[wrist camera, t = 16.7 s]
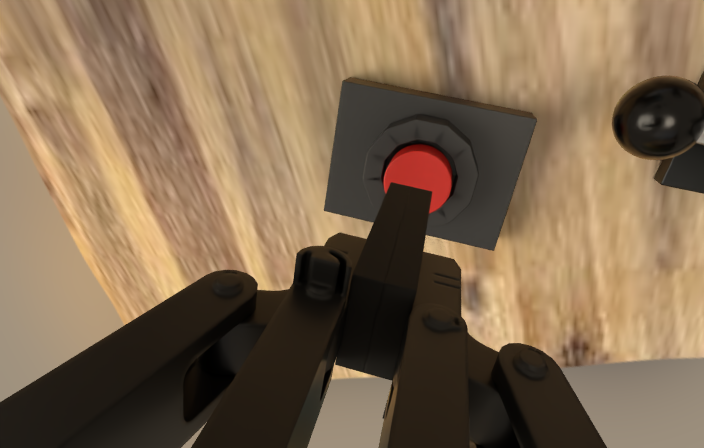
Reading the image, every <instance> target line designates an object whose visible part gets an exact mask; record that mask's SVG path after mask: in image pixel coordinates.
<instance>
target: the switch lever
mask: <svg viewBox="0 0 704 448" xmlns="http://www.w3.org/2000/svg"><path fill="white" fill-rule="evenodd" d="M612 130H613V133H614V136H615V138H616V140H617V142H618V143H619V145H620V146H621V147H622V148H623V149H624V150H625V151H627V152H628V153H630V154H632V155H634V156H636V157H639V158H642V159H647V160H664V159H669V158H673V157H675V156H678V155H680V154H682V153H684V152H686V151H688V150H689V149H691V148H692V147H693V146H694V145H696V144H697V143H699V144H703V145H704V91H703V90H702V89H701V88H700V87H699V86H697V85H696V84H695V83H693V82H691V81H690V80H687V79H685V78H681V77H677V76H658V77H653V78H650V79H647V80H644V81H642V82H640V83H638V84H636V85H635V86H633V87H632V88H631V89H629V90H628V91H627V92H626V93H625V94H624V95H623V96H622V97H621V99H620V100H619V102H618V103H617V105H616V107H615V109H614V112H613V117H612Z"/></svg>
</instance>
